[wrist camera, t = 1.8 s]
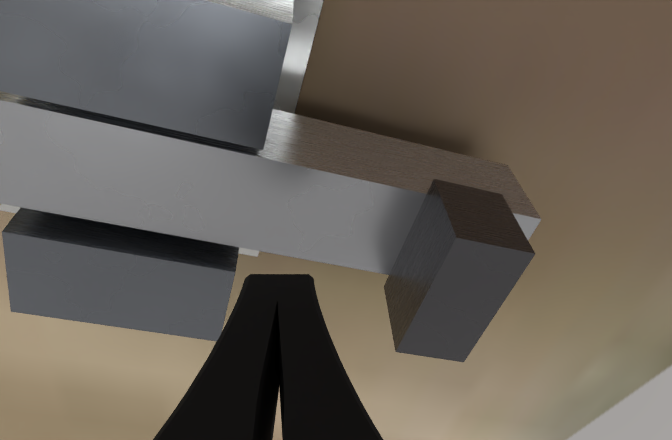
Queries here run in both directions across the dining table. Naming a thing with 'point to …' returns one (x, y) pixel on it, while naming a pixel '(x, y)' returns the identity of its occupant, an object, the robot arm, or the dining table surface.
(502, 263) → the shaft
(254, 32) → the bearing block
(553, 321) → the dining table surface
